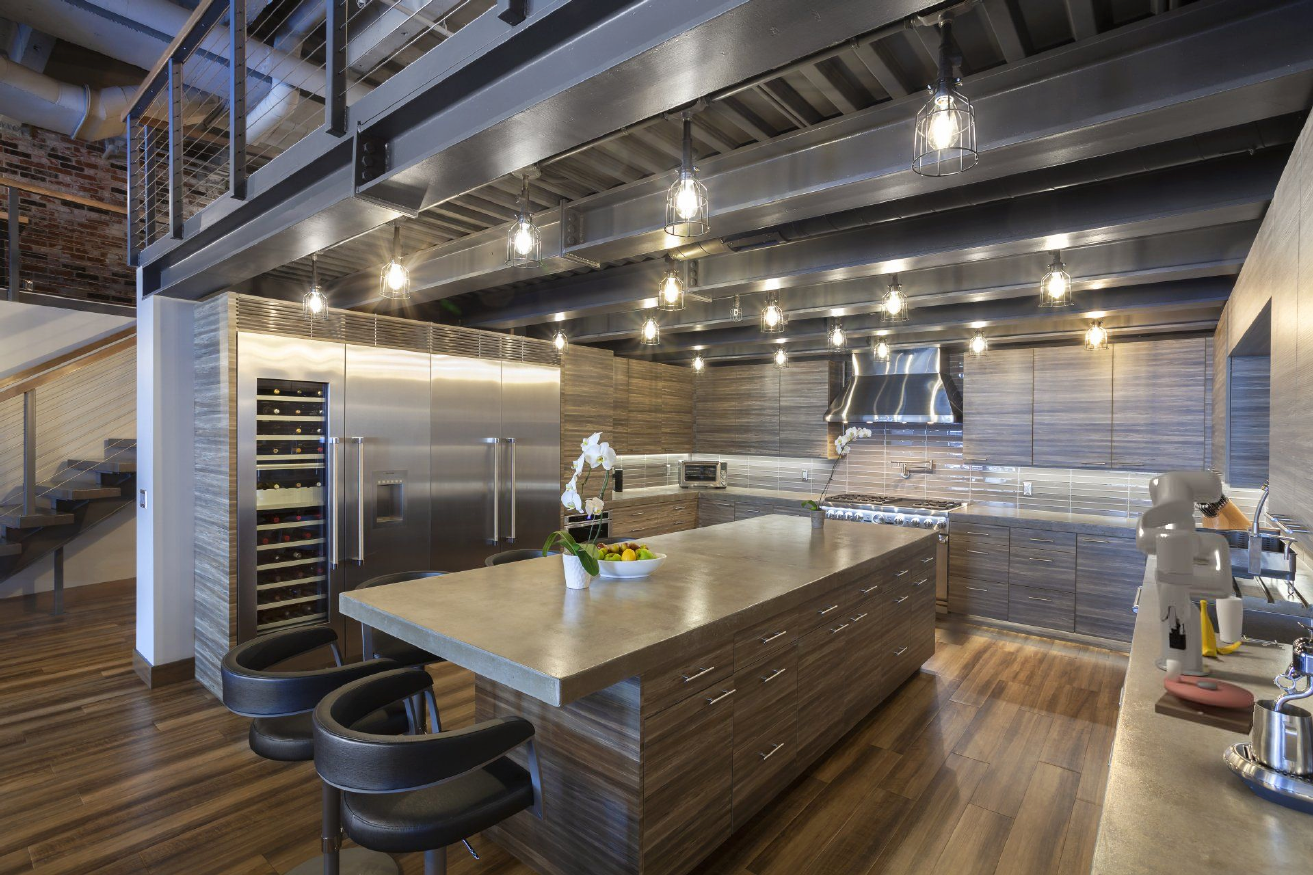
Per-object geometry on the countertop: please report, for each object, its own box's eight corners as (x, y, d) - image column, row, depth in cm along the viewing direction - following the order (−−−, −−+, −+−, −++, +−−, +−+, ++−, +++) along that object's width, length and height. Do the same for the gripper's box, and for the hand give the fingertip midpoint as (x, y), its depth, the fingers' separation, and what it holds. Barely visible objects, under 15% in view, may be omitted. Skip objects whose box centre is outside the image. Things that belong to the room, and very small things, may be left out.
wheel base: (1173, 691, 170) (1173, 676, 170) (1261, 711, 157) (1260, 694, 157) (1155, 712, 157) (1154, 695, 157) (1248, 735, 144) (1247, 716, 144)
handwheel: (1172, 676, 169) (1171, 652, 169) (1258, 694, 156) (1257, 668, 156) (1156, 692, 158) (1155, 666, 158) (1248, 713, 145) (1247, 685, 145)
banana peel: (1166, 642, 213) (1164, 593, 214) (1241, 652, 203) (1239, 600, 203) (1171, 656, 200) (1169, 603, 200) (1252, 666, 189) (1250, 611, 189)
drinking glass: (1250, 645, 209) (1248, 599, 209) (1229, 645, 209) (1227, 600, 209) (1231, 639, 216) (1230, 595, 216) (1212, 639, 216) (1210, 595, 216)
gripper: (1164, 573, 174) (1166, 640, 173) (1150, 579, 164) (1152, 650, 163) (1199, 577, 168) (1202, 646, 167) (1187, 584, 158) (1190, 657, 158)
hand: (1177, 648), depth 165 cm, fingers closed
